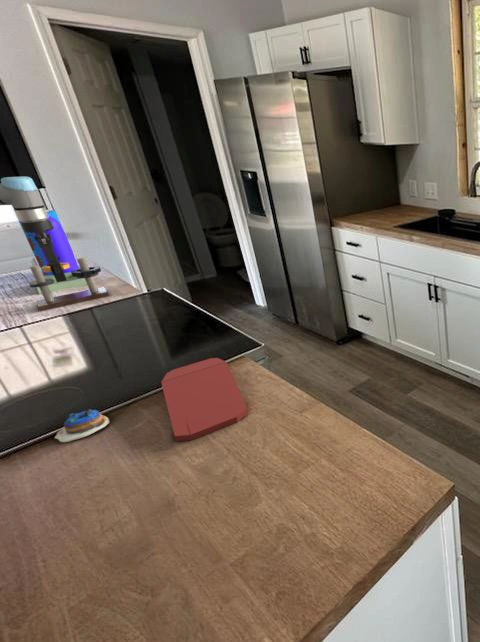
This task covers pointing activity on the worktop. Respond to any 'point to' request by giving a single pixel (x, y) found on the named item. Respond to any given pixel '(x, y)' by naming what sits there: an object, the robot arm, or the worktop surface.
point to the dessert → (81, 425)
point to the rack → (68, 299)
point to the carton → (202, 398)
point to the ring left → (48, 269)
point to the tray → (64, 283)
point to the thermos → (35, 246)
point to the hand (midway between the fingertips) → (61, 279)
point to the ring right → (84, 273)
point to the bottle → (60, 246)
